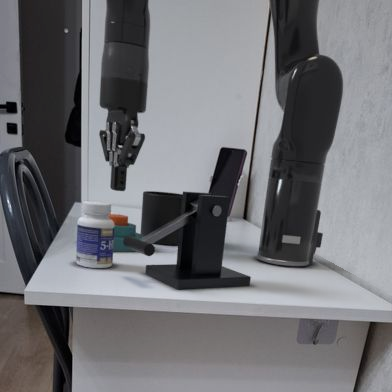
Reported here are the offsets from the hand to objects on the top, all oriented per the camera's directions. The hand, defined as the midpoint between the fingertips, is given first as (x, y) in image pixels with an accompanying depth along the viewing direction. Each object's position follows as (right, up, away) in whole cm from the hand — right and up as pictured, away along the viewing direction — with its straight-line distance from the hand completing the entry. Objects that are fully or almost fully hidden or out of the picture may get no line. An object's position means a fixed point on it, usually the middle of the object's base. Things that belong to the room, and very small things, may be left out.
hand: (117, 190), depth 93 cm
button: (0, -6, +2) cm, 6 cm away
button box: (-1, -9, +3) cm, 10 cm away
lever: (+11, -12, -20) cm, 25 cm away
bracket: (+14, -17, -15) cm, 27 cm away
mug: (+6, -5, +16) cm, 18 cm away
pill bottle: (-2, -15, -13) cm, 20 cm away
